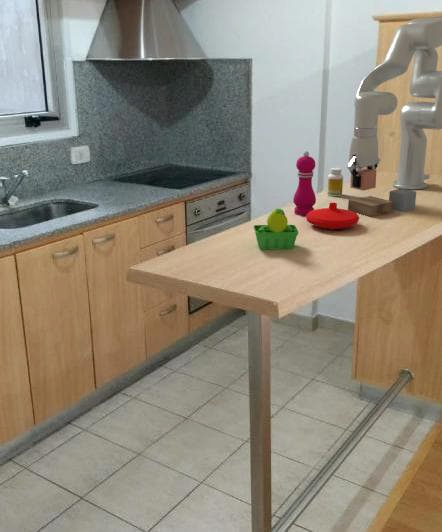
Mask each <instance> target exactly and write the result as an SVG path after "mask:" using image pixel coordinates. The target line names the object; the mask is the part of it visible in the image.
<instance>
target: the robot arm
mask: <svg viewBox="0 0 442 532" xmlns="http://www.w3.org/2000/svg"><path fill="white" fill-rule="evenodd" d="M439 47H442V16H437V17H436V16H435V17H418V18H413V19H410V20H409V21H408V22H407V23H405V24H403V25H400V26H399V27H398V28H397V30H396V31H395V34H394V36H393V38H392V40H391V42H390V46H389V48H388V50H387V52H386V55H385V57H384V59H383V61H382V62H380V64H378V65H377V66H376V67H374V68H373V69H372V70H371V71H370V72H369V73H368V74H367V75H366V76H365V77H364V78H363V79H362V81H361V83H360V85H359V87H358V90H357V92H356V95H355V98H354V124H353V126H354V128H353V137H352V138H351V142H350V148H349V157H348V165H347V167H346V168H347V169H348V171H349V172H350V176H351V175H353V181H352V186H353V187H356V188H360V187H361V176H360V173H361V170H362V168H366V169H372V170H376V169H377V168H378V165H379V164H380V162H381V158H379V141H378V140H379V139H378V119H379V116H387V115H388V116H389V115H390V114H392V113H394V112H395V111H396V109H397V107H398V98H397V96H396V95H395V93H392V92H390V91H375V90H376V89H377V88H378V87H379V86H380V85H382V84H383V83H386V82H389V81H391V80H393V79H395V78H398V77H401V76H402V75H404V74H405V73H406V72H407V71H408V68H409V66H410V64H411V61H412V68H411V75H410V80H409V88H408V89H409V94H410V96H412V97H414V98H419V99H420V98H421V99H424V98H425V99H435V100H434V101H435V102H433V101H431V102H429V101H417V100H414V101H408V102H407V103H404V105H402V107H401V109H400V113H399V118H400V119H399V120H400V142H399V143H400V145H399V156H398V158H399V159H398V165H397V166H398V167H397V179H396V181H393V182H392V186H393V187H395V188H397V189H406V190H423V189H426V188H427V187H428V183H426V182H425V180H428V179H430V177H431V176H430V174H429V173H425V164H426V156H427V155H426V154H427V147H428V145H427V144H428V139H427V135H426V133H425V130H436V131H437V130H438V131H439V130H442V70H437V69H438V61H439V53H438V51H437V48H439ZM412 59H413V60H412ZM424 129H425V130H424ZM356 169H358V171H356Z"/></svg>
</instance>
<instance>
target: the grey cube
mask: <svg viewBox="0 0 442 532" xmlns="http://www.w3.org/2000/svg"><path fill="white" fill-rule="evenodd" d="M388 195H389V196H388V201H392V202H393V211H396V210H397V212H401V213H405V212H409V211H414V210H416V200H417V191H415V190H412V189H401V188H397V189H394V190H390V191H389V193H388Z"/></svg>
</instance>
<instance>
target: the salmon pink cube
mask: <svg viewBox="0 0 442 532" xmlns="http://www.w3.org/2000/svg"><path fill="white" fill-rule="evenodd" d="M356 171H358V169H356ZM360 176H361V187H360V188H356V187H353V186H352V181H353V175H351V174H350V189H355V190H359V191H363V192H364V191H367V190H368V191H369V190H371V189H375V188H376V186H377V185H376V183H377V170H376V169H375V170H372V169H367V167H364V168H362V170H361V173H360Z"/></svg>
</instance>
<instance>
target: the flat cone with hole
mask: <svg viewBox="0 0 442 532" xmlns="http://www.w3.org/2000/svg"><path fill="white" fill-rule="evenodd" d="M337 206H338V203H337V202H329V203H328V207H325V208H323V207H322V208H317V209H314V210H312V211H310V212H309V213H308V214H307V215H306V216H305V218H306V222H308V223H309V224H311V225H313V226H315V227H317V228H319V229H325V230H343V229H347V228H350V227H352V226H354V225H357V224H358V223H359V220H360V215H359V214H357V213H355V212H353V211H349V210H348V209H344V208H343V209H342V208H338V207H337Z"/></svg>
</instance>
